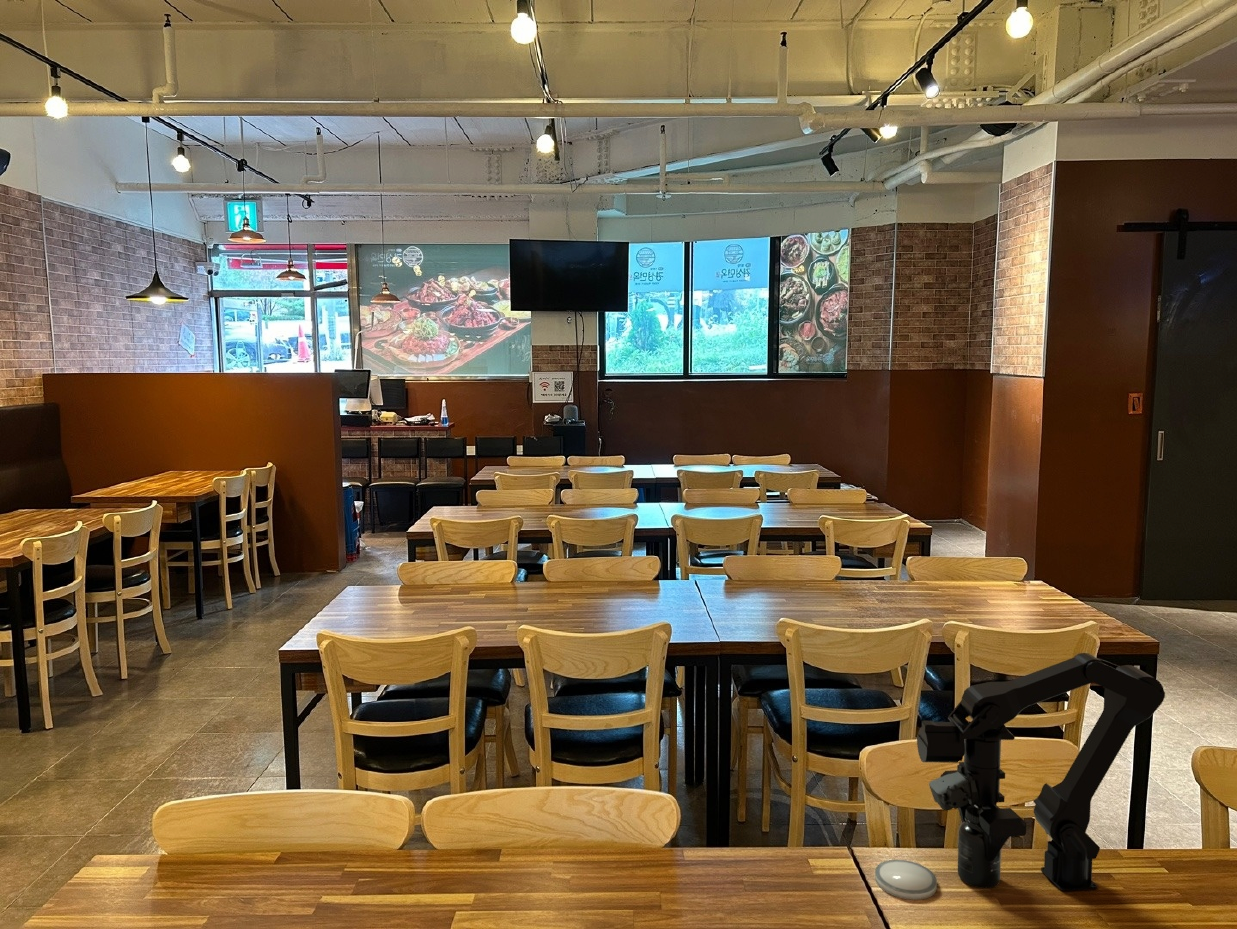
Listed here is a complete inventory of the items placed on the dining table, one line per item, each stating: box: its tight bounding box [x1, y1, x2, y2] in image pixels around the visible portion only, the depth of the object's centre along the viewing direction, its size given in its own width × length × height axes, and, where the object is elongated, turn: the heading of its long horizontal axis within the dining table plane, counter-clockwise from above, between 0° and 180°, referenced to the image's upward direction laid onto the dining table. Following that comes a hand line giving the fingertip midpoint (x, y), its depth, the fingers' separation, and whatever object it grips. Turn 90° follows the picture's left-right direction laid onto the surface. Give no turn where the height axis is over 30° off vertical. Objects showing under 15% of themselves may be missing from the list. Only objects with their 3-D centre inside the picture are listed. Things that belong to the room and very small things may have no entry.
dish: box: [874, 859, 938, 901], centre depth 147 cm, size 10×10×1 cm
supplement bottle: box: [957, 806, 1002, 889], centre depth 147 cm, size 7×7×12 cm
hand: (979, 849), depth 148 cm, fingers closed on supplement bottle, 7 cm apart
